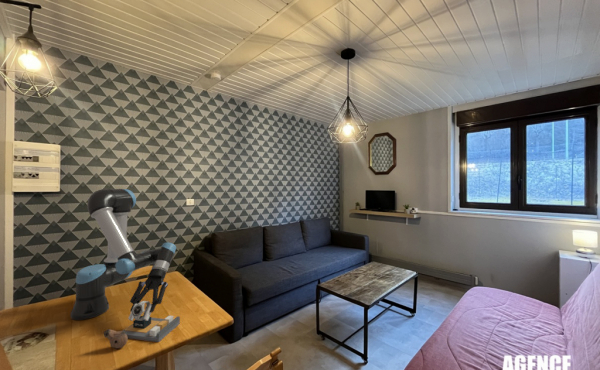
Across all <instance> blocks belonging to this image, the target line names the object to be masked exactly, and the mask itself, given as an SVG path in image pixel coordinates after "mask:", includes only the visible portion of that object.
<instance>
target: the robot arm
mask: <svg viewBox="0 0 600 370" xmlns="http://www.w3.org/2000/svg"><path fill="white" fill-rule="evenodd" d="M136 203H137V198H136V195H135V192H133V191H132V190H130V189H126V188H103V189H98V190H96V191H94V192H93V193H91V194H90V195H89V197H88V199H87V211H88V213H89V215H90V218H92V219H94V220H95V222H97V225H98V227H99V229H100V230H101V232H102V234H103V236H104V237H105V239H106V241H107V257H106V258H104V259H103V264H102V263H101V264H100V263H99V264H93V265H88V266H85V267H83V268H81V269H80V270H79V271H77V273H76V276H75V302H74V304H73V308H72V310H71V312H70V319H71V320H74V321H83V320H88V319H92V318H96V317H98V316H101V315H102V314H105V313H106V312H107V311H108V310H109V309H110V304H109V301H108V298H107V296H106V288H107V287H109V286H111V285H114V284H118V283H119V282H123V281H124V280H126V279H128V278H129V277H130V276H131V275H132V274H133V273H134V271H136V270H139V269H141V268H144V267H148V266H150V265H152V267H151V269H150V271H149V274H148V276H147V278H146V280H145V281H141V280H140V281H139V282H138V284H137V285H138V286H137V287H136V289H135V290H134V293H133V295H132V297H131V298H130V299H129V300H130V301H129V302H130V303H131V304H132V306H131V308H130V314H129V315H128V317H127V319H128V320H129V321H132V322H133V321H134V317H133V314H132V311H133V308H134V307H135V306H136V305H137V304H138V303H140V302H141V301H143V298H144V297H145V295H147V294H148V292H150V291H151V290H153V291H152V301H151V303H150V305H149V308H148V310H147V312H146V315H145V317H144V319H145V320H146V321H148V319H149V317H151V314H152V313H154V311H155V309H156V306H157V305H161V304H162V303H163V298H164V296H165V295H164V294H165V293H166V289H167V288H168V285H169V283H168V282H167V281H164V280H165V278H166V275H167V272H168V270H169V268H170V265H171V263H172V260H173V258H174V255H175V254H176V250H177V246H176V245H175V244H174V243H172V242H163V243H162V245H161V246H160V247H159V248H155V249H150V250H149V249H147V250H145V251H141V252H139V253H137V254H136V252H135V250H134V248H133V247H132V245H131V243H130V241H129V239H128V238H127V237H128V233H127V232H128V216H129V214H130V213H131V212H132V211H131V209H132V208H134V207H135V205H136ZM159 288H160V290H159Z"/></svg>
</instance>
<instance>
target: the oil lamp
mask: <svg viewBox="0 0 600 370" xmlns="http://www.w3.org/2000/svg"><path fill="white" fill-rule="evenodd" d="M103 336H104V338H107V339H108V341H109V345H110V347H111V348H114V349H121V348H123V347H124V346H126V345H127V343H128V340H129V338H128V337H127V335H126V333H125V332H123V330H119V331H116V330H114V329H110V328H108V329H105V331H103Z"/></svg>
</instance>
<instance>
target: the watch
mask: <svg viewBox="0 0 600 370" xmlns="http://www.w3.org/2000/svg"><path fill="white" fill-rule="evenodd" d="M150 304H151V302H150V301H149V300H141V301H140V302H139V303H138V304H137V305H136V306H135V307H134V308H133V311H132V314H133V317H134V318H133V321H132V322H133V323H132V324H133V328H140V329H144V328H146V327H147V326H149V325H150V324H151V318H152V317H151V316H150V317H149V319H148V321H146V320H145V319H144V317H145V315H146V312H147V310H148V308H149V305H150Z"/></svg>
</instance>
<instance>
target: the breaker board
mask: <svg viewBox="0 0 600 370" xmlns="http://www.w3.org/2000/svg"><path fill="white" fill-rule="evenodd" d="M180 323H181V317H180V316H176V317H175V318H174V315H168V316H167V317H165V318H161V317H160V318H157V317H151V324H150V325H149V326H147V327H146V328H144V329H140V328H133V323H131V325H129V326H127V327H126V328H124V329H123V330H122V331H123V332H125V333H126V335H127V337H128V339H131V340H141V341H148V342H153V343H154V342H156V343H159V342H161V341H162V340H163V339H164V338H165V337H167V336H168V335H169V334H170V333H171V332H172V331H174V329H176V328H177V327H178V326H180Z"/></svg>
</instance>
